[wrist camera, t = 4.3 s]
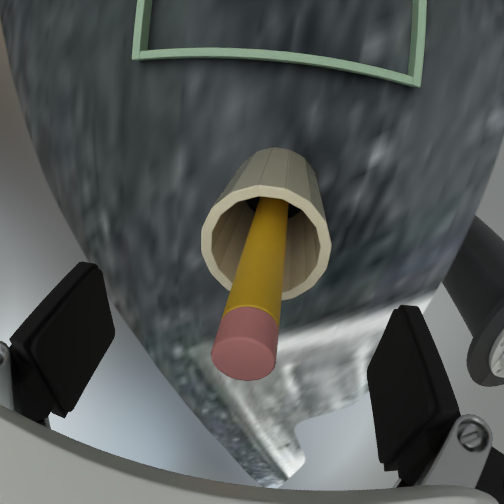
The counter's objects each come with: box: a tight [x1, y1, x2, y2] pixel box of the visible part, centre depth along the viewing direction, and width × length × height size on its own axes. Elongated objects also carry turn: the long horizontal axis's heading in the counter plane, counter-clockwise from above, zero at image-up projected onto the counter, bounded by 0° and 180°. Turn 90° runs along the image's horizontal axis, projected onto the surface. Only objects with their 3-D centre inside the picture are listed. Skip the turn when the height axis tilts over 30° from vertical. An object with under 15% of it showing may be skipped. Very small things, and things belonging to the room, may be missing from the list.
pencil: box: [211, 196, 289, 381], centre depth 15 cm, size 2×2×16 cm
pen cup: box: [201, 147, 332, 301], centre depth 19 cm, size 6×6×10 cm
